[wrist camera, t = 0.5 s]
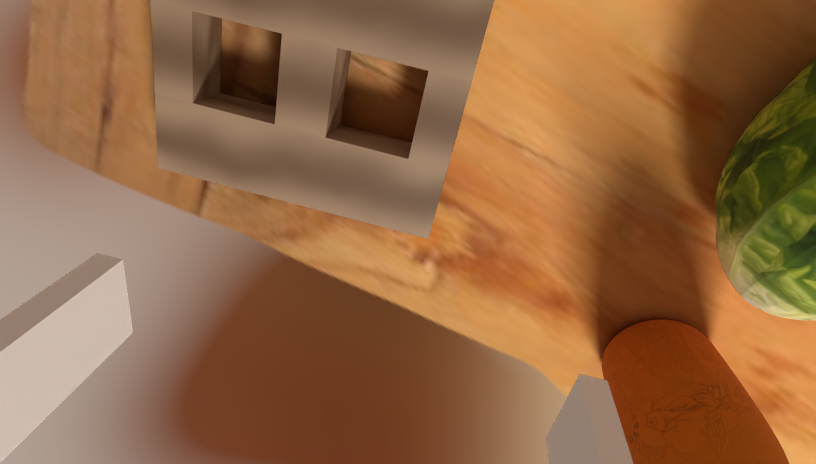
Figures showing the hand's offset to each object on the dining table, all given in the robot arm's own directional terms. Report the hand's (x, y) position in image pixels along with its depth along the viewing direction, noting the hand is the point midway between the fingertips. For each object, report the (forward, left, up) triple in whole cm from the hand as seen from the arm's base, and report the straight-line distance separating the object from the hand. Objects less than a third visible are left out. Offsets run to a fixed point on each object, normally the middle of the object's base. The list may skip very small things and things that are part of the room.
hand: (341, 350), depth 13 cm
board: (-2, -9, -26) cm, 27 cm away
